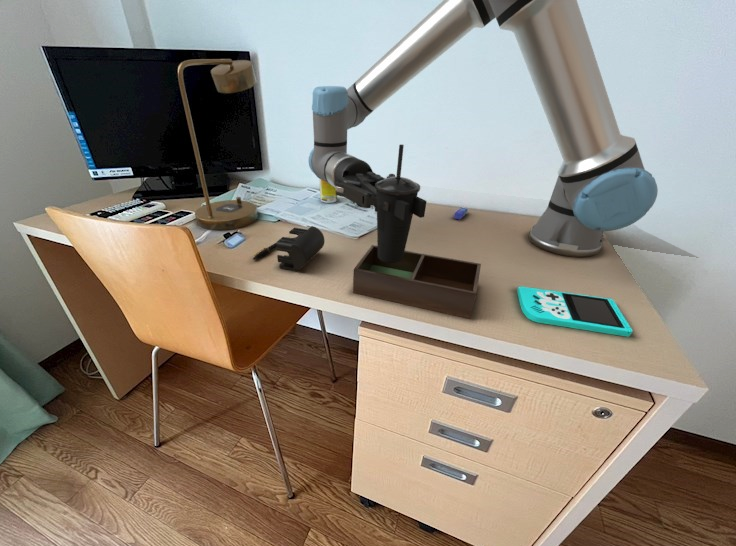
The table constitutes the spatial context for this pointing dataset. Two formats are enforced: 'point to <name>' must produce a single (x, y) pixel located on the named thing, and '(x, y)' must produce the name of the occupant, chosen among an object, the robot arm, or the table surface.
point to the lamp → (214, 214)
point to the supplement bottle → (327, 192)
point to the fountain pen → (265, 251)
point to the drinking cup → (389, 226)
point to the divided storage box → (419, 281)
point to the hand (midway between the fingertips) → (414, 210)
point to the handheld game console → (573, 311)
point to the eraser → (460, 213)
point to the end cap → (299, 248)
